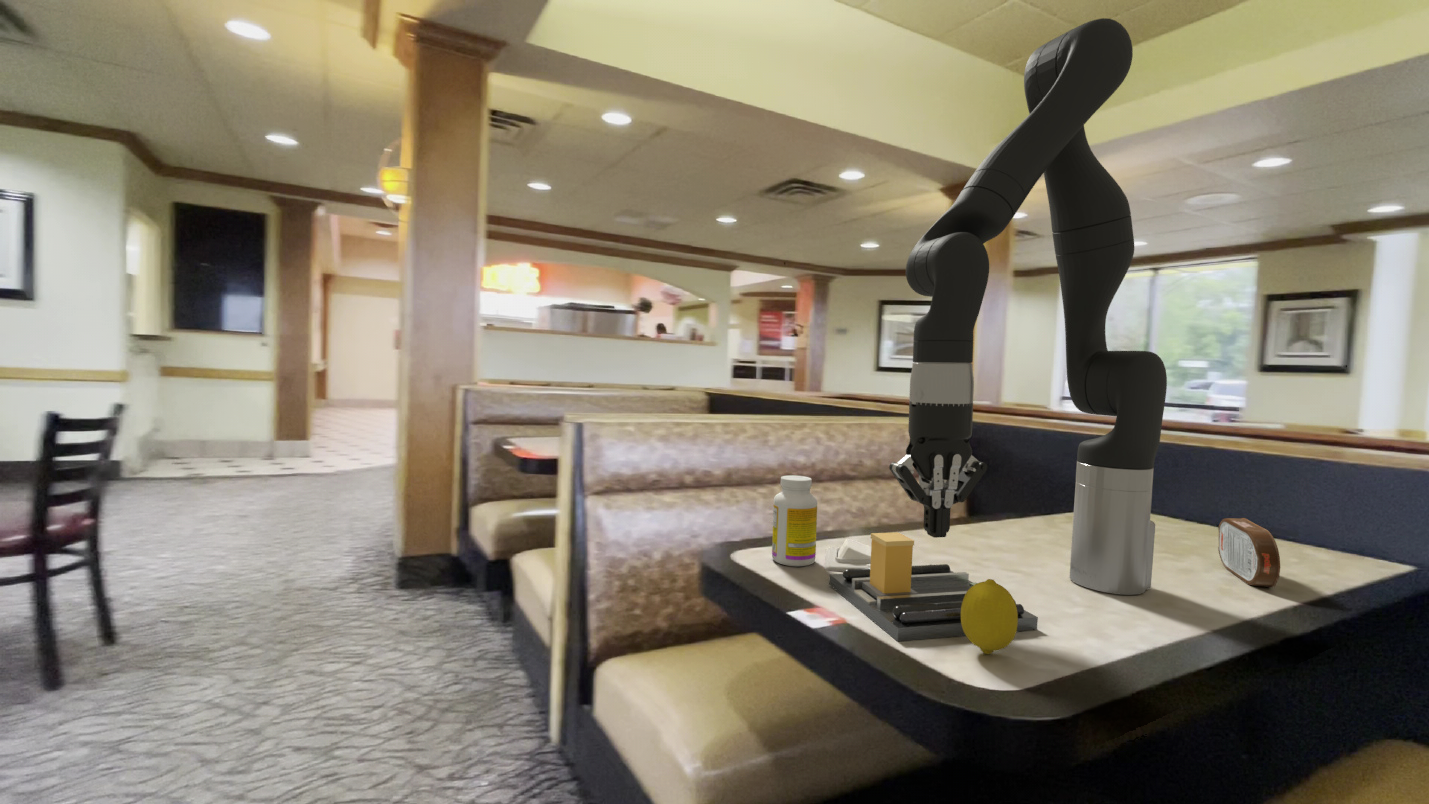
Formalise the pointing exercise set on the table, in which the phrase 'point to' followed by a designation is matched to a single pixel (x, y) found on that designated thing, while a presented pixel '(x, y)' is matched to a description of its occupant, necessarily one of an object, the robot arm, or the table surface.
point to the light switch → (848, 556)
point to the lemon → (989, 616)
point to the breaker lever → (890, 565)
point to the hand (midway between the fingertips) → (936, 535)
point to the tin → (1249, 552)
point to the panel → (918, 603)
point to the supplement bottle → (794, 522)
